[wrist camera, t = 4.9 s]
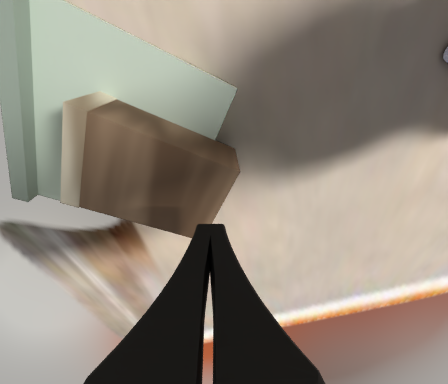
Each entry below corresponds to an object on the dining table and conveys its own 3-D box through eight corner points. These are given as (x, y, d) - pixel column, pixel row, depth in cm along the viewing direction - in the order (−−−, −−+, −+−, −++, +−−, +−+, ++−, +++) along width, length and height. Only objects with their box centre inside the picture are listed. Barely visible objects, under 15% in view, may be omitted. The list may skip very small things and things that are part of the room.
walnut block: (240, 171, 12) (62, 101, 9) (202, 241, 14) (60, 202, 12) (235, 147, 14) (99, 91, 12) (204, 210, 17) (90, 174, 15)
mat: (236, 87, 13) (239, 90, 12) (176, 227, 19) (173, 241, 18) (17, -24, 10) (-18, -38, 9) (30, 185, 16) (12, 197, 15)
